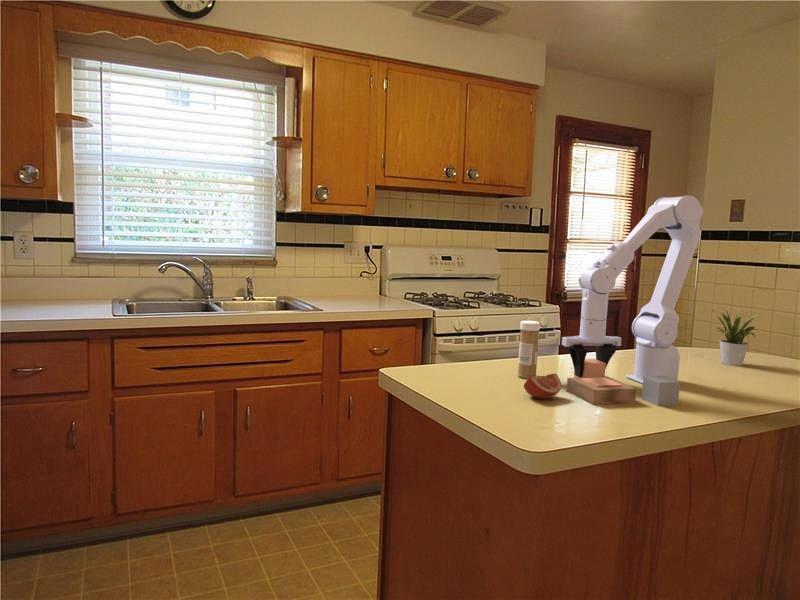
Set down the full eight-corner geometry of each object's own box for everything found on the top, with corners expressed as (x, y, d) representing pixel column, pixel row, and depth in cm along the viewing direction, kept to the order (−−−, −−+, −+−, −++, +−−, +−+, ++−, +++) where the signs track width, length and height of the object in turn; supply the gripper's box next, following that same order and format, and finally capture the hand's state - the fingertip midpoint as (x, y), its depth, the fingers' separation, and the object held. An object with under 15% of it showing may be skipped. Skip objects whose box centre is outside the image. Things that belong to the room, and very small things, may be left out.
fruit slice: (543, 391, 128) (545, 369, 128) (568, 399, 123) (570, 376, 122) (516, 396, 123) (518, 373, 123) (541, 405, 118) (543, 381, 117)
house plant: (694, 363, 164) (700, 305, 162) (701, 355, 175) (707, 301, 173) (753, 372, 156) (760, 311, 154) (757, 363, 167) (764, 306, 165)
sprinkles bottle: (540, 378, 140) (544, 322, 139) (526, 380, 138) (530, 323, 136) (526, 373, 144) (530, 319, 142) (512, 375, 141) (516, 320, 140)
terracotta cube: (591, 378, 141) (593, 358, 141) (604, 384, 137) (605, 363, 136) (573, 379, 140) (575, 358, 140) (585, 385, 135) (586, 363, 135)
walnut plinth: (605, 391, 132) (607, 375, 131) (634, 404, 122) (636, 386, 122) (566, 393, 129) (567, 376, 129) (592, 406, 120) (594, 388, 119)
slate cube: (661, 398, 127) (663, 375, 126) (677, 405, 122) (680, 381, 121) (641, 399, 125) (643, 376, 125) (657, 406, 121) (659, 382, 120)
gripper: (610, 316, 142) (605, 371, 144) (556, 316, 139) (552, 372, 140) (628, 320, 136) (623, 378, 137) (572, 320, 132) (568, 380, 133)
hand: (589, 375), depth 138 cm, fingers closed on terracotta cube, 5 cm apart
